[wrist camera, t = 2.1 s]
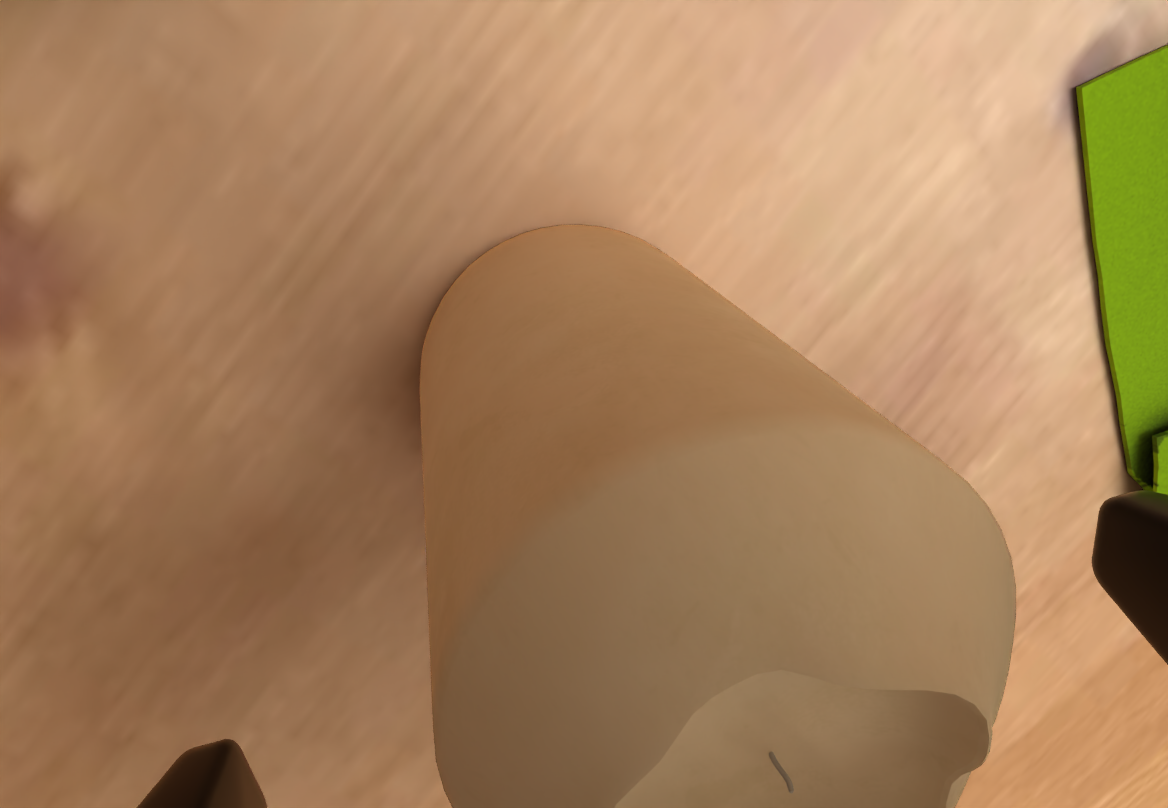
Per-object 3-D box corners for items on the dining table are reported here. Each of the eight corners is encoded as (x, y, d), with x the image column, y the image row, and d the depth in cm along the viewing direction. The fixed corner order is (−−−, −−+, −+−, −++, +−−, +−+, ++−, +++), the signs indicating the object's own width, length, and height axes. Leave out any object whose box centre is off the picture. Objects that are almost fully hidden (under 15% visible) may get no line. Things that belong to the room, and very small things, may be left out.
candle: (584, 151, 13) (959, 345, 4) (760, 367, 16) (1239, 787, 7) (352, 367, 14) (254, 928, 5) (555, 543, 16) (738, 1141, 7)
